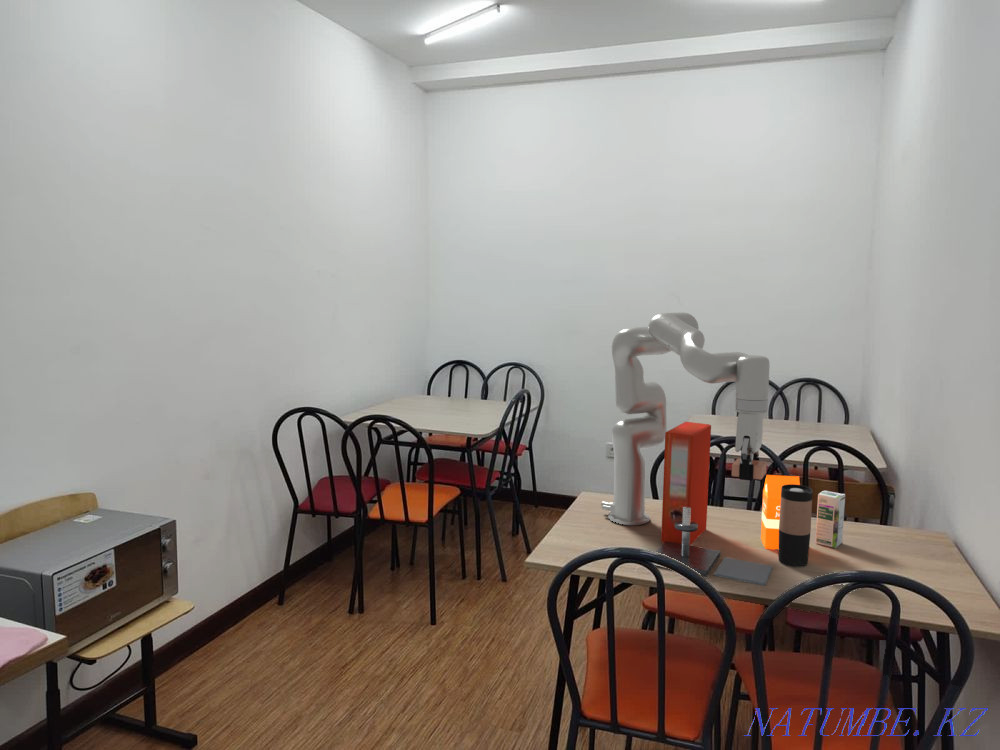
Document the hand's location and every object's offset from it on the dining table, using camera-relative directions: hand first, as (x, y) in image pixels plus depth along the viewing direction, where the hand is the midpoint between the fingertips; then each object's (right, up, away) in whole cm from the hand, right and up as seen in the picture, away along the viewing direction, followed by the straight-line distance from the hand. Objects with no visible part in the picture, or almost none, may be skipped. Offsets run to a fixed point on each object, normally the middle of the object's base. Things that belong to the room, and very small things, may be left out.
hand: (749, 475), depth 176 cm
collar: (0, 0, 0) cm, 0 cm away
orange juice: (+16, -23, +22) cm, 35 cm away
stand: (-13, -24, +11) cm, 29 cm away
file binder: (-9, -22, +29) cm, 37 cm away
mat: (0, -25, +4) cm, 25 cm away
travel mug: (+15, -24, +10) cm, 30 cm away
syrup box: (+31, -23, +23) cm, 44 cm away
